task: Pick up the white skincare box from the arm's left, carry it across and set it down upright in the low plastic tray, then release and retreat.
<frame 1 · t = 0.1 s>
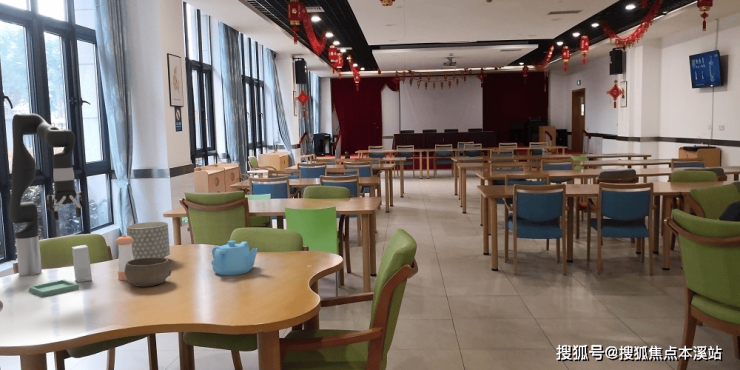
hand: (67, 218, 249), 29 cm above the table, fingers open, 8 cm apart
teapot: (234, 271, 272), on the table
planter: (150, 262, 298), on the table
skincare box: (83, 280, 266), on the table
tray: (54, 290, 250), on the table
salt shaker: (127, 278, 266), on the table
bowl: (148, 284, 255), on the table
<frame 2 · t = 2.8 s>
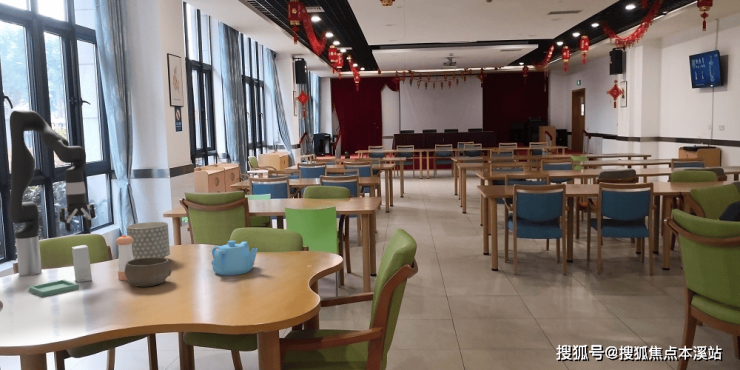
hand: (78, 229, 264), 22 cm above the table, fingers open, 8 cm apart
nothing on the table moved.
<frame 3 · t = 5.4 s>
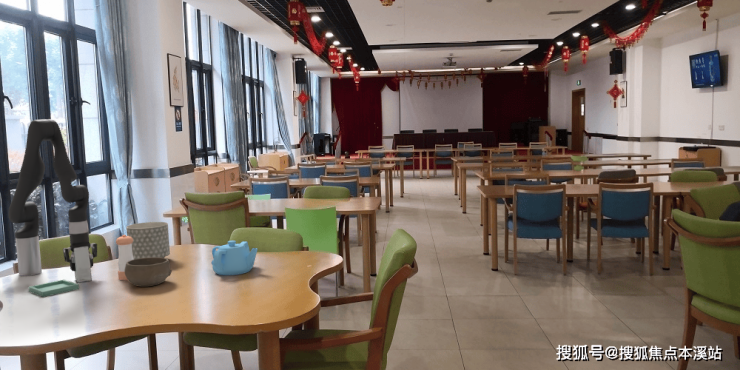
hand: (82, 269, 265), 5 cm above the table, fingers closed on skincare box, 6 cm apart
skincare box: (83, 280, 266), on the table, touching gripper
everything else where it was.
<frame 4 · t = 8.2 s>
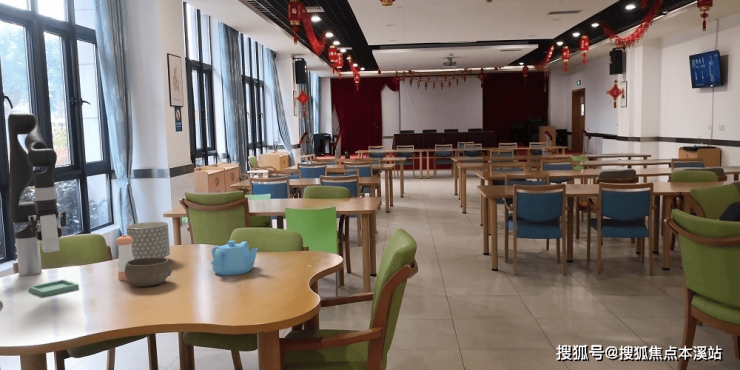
hand: (49, 238, 248), 21 cm above the table, fingers closed on skincare box, 6 cm apart
skincare box: (50, 251, 248), point 16 cm above the table, touching gripper
everything else where it was.
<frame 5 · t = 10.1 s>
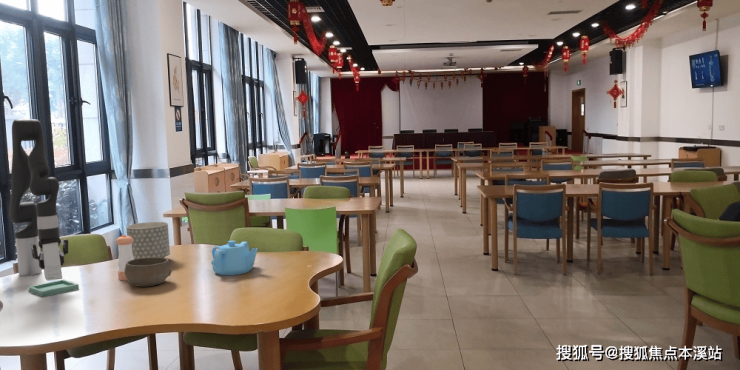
hand: (51, 266, 249), 10 cm above the table, fingers closed on skincare box, 6 cm apart
skincare box: (53, 278, 250), point 5 cm above the table, touching gripper
everything else where it was.
when the fingers open (7 cm above the table, at t = 11.4 s): skincare box stays where it is, resting on tray.
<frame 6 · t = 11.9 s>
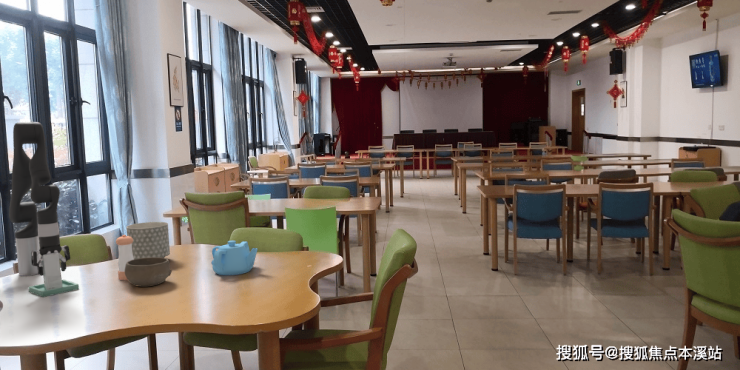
hand: (52, 273, 249), 7 cm above the table, fingers open, 8 cm apart
skincare box: (53, 288, 250), point 1 cm above the table, touching tray
everything else where it was.
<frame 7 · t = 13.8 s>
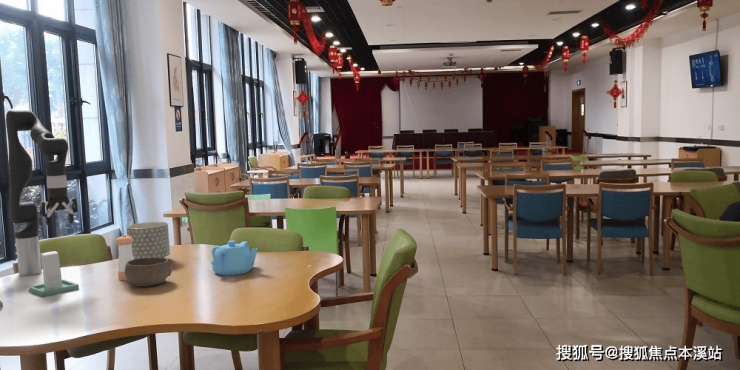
hand: (60, 224, 256), 26 cm above the table, fingers open, 8 cm apart
nothing on the table moved.
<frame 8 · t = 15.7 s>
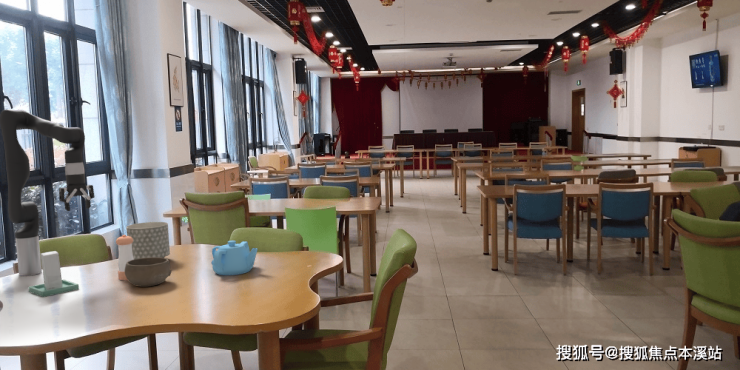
hand: (78, 209, 269), 30 cm above the table, fingers open, 8 cm apart
nothing on the table moved.
at the end: skincare box inside the target area on the tray (0.2 cm from its centre), point 0.6 cm above the tray's base; skincare box tilted 0°; the gripper is holding nothing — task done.
